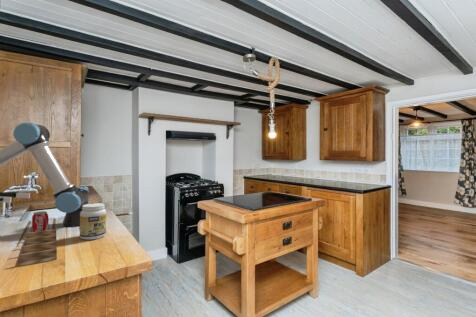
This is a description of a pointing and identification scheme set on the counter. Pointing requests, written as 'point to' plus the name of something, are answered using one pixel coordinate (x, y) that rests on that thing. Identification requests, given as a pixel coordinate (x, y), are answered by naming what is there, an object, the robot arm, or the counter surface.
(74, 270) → the counter surface
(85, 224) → the supplement tub
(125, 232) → the counter surface
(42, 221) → the soda can
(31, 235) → the rack
